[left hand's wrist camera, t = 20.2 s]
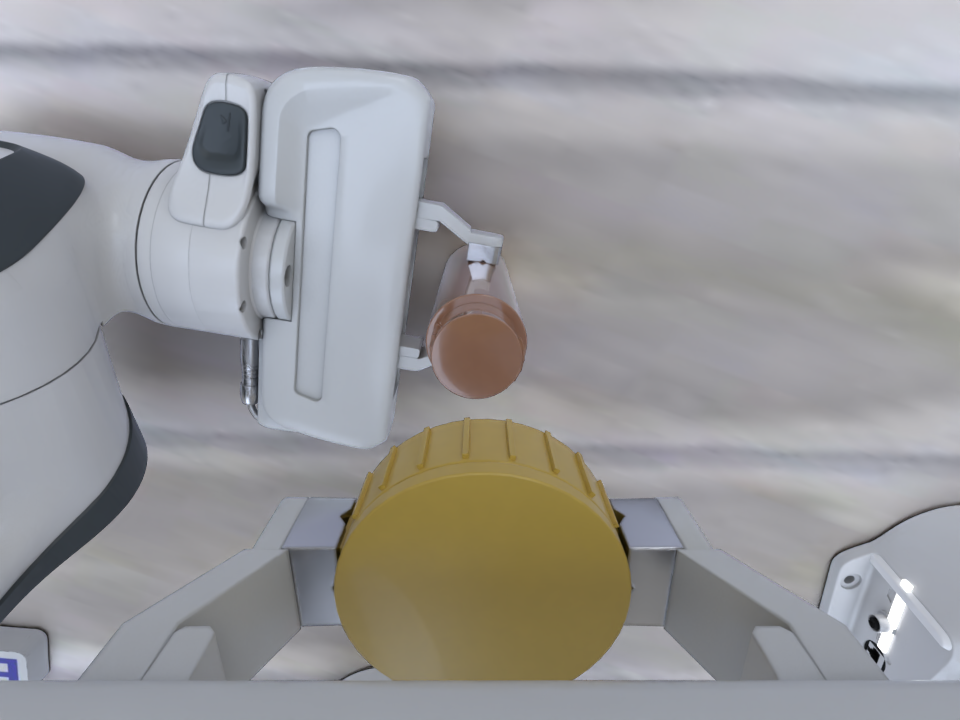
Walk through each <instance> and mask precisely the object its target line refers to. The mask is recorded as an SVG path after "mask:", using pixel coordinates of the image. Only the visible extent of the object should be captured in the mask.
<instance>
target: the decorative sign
mask: <svg viewBox="0 0 960 720" xmlns="http://www.w3.org/2000/svg"><path fill="white" fill-rule="evenodd" d="M48 672H49V660H48V641H47V636H46V634H45V633H44V632H43V631H41V630H38V629H28V628H16V627H4V626H0V680H43V678H44V677H45V676H46V675H47V674H48Z"/></svg>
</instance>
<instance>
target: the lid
mask: <svg viewBox="0 0 960 720" xmlns="http://www.w3.org/2000/svg"><path fill="white" fill-rule="evenodd" d="M617 527H619V524H618V522H617V519H616V517H615V514H614V511H613V509H612V506H611V504H610V501H609V499H608V496H607V494H606V491H605V488H604V486H603V483H602V481H601V480H598V481H597V480H596V479H595V477H594V475H593V474H592V472H591V471H590V469H589V468H588V467H587V465H586V464H585V463H584V460H583V457H582V455H581V454H580V453H579V452H577V453H576V454H575V453H574V452H573V451H572V450H571V449H570V448H568V447H567V446H566V445H564V444H563V443H561V442H560V441H558V440H557V439H555V438H554V437H552V436H551V433H550V432H548V431H545V433H543V432H541V431H539V430H537V429H534V428H531V427H528V426H525V425H523V424H518V423H514V422H512V420H511V419H506V421H503V420H492V419H470V418H464V420H463V421H456V422H451V423H447V424H443V425H439V426H436V427H433V428H431V429H430V427H426V428H424V431H423V432H421V433H419V434H417V435H415V436H413V437H412V438H410V439H408V440H406V441H405V442H403V443H402V444H401V445H399V446H398V447H396V446H395V445H394V446H393V447H392V448H391V449H390V452H389V454H388V455H387V456H386V457H385V458H384V459H383V460H382V461H381V462H380V464H379V465H378V466H377V468H376V469H375V470H374V472H373V473H371V472H368V474H367V476H366V478H365V481H364V484H363V486H362V489H361V492H360V494H359V497H358V500H357V502H356V505H355V508H354V511H353V513H352V515H351V516H350V517H349V520H348V523H347V525H346V533H345V535H344V538H343V540H342V543H341V546H340V552H341V554H340V556H339V559H338V562H337V566H336V571H335V577H334V597H335V603H336V609H337V613H338V616H339V619H340V622H341V625H342V627H343V629H344V631H345V633H346V635H347V636H348V638H349V640H350V641H351V643H352V644H353V645H354V647H355V648H356V650H357V651H358V652H359V653H360V654H361V655H362V656H363V657H364V658H365V659H366V661H367V662H368V663H370V664H371V665H372V666H373V667H374V668H376V669H377V670H378V671H379V672H381V673H382V674H384V675H385V676H387V677H388V678H390V679H391V680H393V681H416V680H574V679H575V678H577V677H578V676H580V675H581V674H583V673H584V672H585V671H587V670H588V669H590V668H591V667H592V666H593V665H594V664H595V663H596V662H597V661H598V660H599V659H601V658H602V656H603V655H604V654H605V653H606V652H607V651H608V649H609V648H610V647H611V646H612V644H613V643H614V641H615V640H616V638H617V636H618V635H619V633H620V631H621V629H622V627H623V624H624V622H625V620H626V617H627V613H628V609H629V606H630V599H631V589H632V588H631V573H630V569H629V565H628V561H627V557H626V554H625V552H624V549H623V547H622V544H621V541H620V539H619V536H618V532H619V531H618V528H617Z"/></svg>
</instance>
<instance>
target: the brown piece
mask: <svg viewBox="0 0 960 720" xmlns="http://www.w3.org/2000/svg"><path fill="white" fill-rule="evenodd" d="M468 245H469V244H468ZM468 245H465V246H462V247H460V248H459V249H457V250H456V251H455V252H454V253H452V255H451V256H450V257H449V259H448V260H447V263H446V265H445V269H444V272H443V276H442V279H441V283H440V286H439V290H438V293H437V297H436V300H435V304H434V307H433V311H432V314H431V318H430V321H429V325H428V328H427V332H426V351H427V355H428V358H429V360H430V362H431V365H432V368H433V371H434V373H435V375H436V377H437V379H438V380H439V381H440V383H441V384H442V385H443V386H444V387H445V388H447V389H448V390H449V391H451V392H452V393H454V394H456V395H459V396H461V397H465V398H470V399H483V398H488V397H491V396H494V395H496V394H498V393H500V392H502V391H503V390H505V389H507V388H508V387H509V386H510V385H511V384H512V383H513V381H515V380H516V378H517V377H518V375H519V373H520V372H521V370H522V366H523V363H524V356H525V353H526V349H527V335H526V330H525V326H524V323H523V320H522V316H521V313H520V310H519V306H518V303H517V300H516V296H515V293H514V289H513V286H512V283H511V279H510V276H509V273H508V269H507V266H506V263H505V261H504V259H503V258H502V256H501V255H500V259H499V264H498V265H490V264H487V263H485V262H484V261H480V262H474V261H468V260H467V252H468Z"/></svg>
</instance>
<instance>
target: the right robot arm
mask: <svg viewBox="0 0 960 720" xmlns="http://www.w3.org/2000/svg"><path fill="white" fill-rule="evenodd" d="M434 112H435V103H434V100H433V98H432V96H431V95H430V93H429V91H428V90H427V89H426V87H425V86H424V85H423V84H422V83H421V82H420V81H419V80H418V79H416V78H414V77H412V76H408V75H404V74H399V73H394V72H387V71H379V70H371V69H361V68H347V67H304V68H298V69H294V70H291V71H288V72H286V73H284V74H282V75H281V76H279V77H278V78H277V79H276V80H275V81H274V82H273V83H271V82H269V81H266V80H264V79H261V78H257V77H254V76H250V75H245V74H238V73H216V74H214V75H212V76H211V77H210V78H209V80H208V81H207V83H206V85H205V88H204V91H203V94H202V97H201V101H200V104H199V108H198V111H197V114H196V118H195V121H194V125H193V128H192V131H191V134H190V138H189V141H188V144H187V147H186V150H185V153H184V156H183V159H164V160H157V161H145V160H139V159H136V158H133V157H130V156H128V155H126V154H124V153H122V152H120V151H118V150H116V149H113V148H111V147H108V146H105V145H100V144H95V143H90V142H85V141H79V140H74V139H67V138H61V137H54V136H47V135H39V134H31V133H21V132H11V131H0V623H1V622H2V620H3V619H4V618H5V617H6V616H7V615H8V614H9V613H10V612H11V611H12V610H13V608H14V607H15V606H16V605H17V604H18V603H19V602H20V601H21V600H22V599H23V598H24V597H25V596H26V595H27V594H28V593H29V592H30V591H31V590H32V589H33V588H34V587H35V586H36V585H38V584H39V583H40V582H41V581H42V580H43V579H44V578H45V577H46V576H48V575H49V574H50V573H51V572H52V571H53V570H55V569H56V568H57V567H58V566H59V565H61V564H62V563H63V562H64V561H65V560H67V559H68V558H69V557H70V556H72V555H73V554H74V553H75V552H76V551H78V550H79V549H80V548H81V547H83V546H84V545H85V544H86V543H87V542H89V541H90V540H91V539H92V538H94V537H95V536H96V535H97V534H98V533H99V532H101V531H102V530H103V529H104V528H105V527H106V526H107V525H108V524H109V523H110V522H111V521H112V520H113V519H114V518H115V517H116V516H117V515H118V514H119V513H120V512H121V511H122V510H123V509H124V508H125V506H126V505H127V504H128V503H129V501H130V500H131V499H132V497H133V496H134V494H135V493H136V491H137V489H138V487H139V486H140V484H141V481H142V479H143V476H144V473H145V470H146V466H147V447H146V443H145V440H144V438H143V435H142V433H141V431H140V429H139V427H138V425H137V423H136V420H135V418H134V416H133V414H132V412H131V410H130V407H129V405H128V403H127V401H126V399H125V398H124V396H123V395H122V393H121V390H120V386H119V383H118V380H117V377H116V374H115V371H114V368H113V364H112V361H111V358H110V355H109V352H108V349H107V346H106V343H105V339H104V336H103V333H102V330H101V327H100V324H101V325H102V326H104V325H105V324H106V323H107V322H108V321H109V320H111V319H112V318H113V317H114V316H115V315H117V314H118V313H121V312H124V311H127V312H133V313H136V314H139V315H141V316H143V317H146V318H148V319H150V320H152V321H154V322H157V323H160V324H164V325H168V326H174V327H180V328H186V329H192V330H198V331H204V332H210V333H217V334H223V335H229V336H235V337H240V359H241V367H242V382H241V384H240V396H241V400H242V403H243V404H245V405H247V406H248V409H249V411H250V413H251V414H252V416H253V417H254V418H255V419H256V420H257V421H258V423H259V424H260V425H262V426H264V427H267V428H270V429H277V430H283V431H290V432H298V433H301V434H304V435H307V436H310V437H314V438H317V439H321V440H324V441H328V442H332V443H336V444H340V445H344V446H349V447H354V448H360V449H370V448H373V447H375V446H377V445H379V444H381V443H383V442H385V441H386V440H387V438H388V436H389V433H390V430H391V427H392V423H393V420H394V414H395V407H396V400H397V392H398V385H399V377H400V369H405V370H411V371H420V370H423V369H425V368H428V367H431V366H432V365H431V362H430V360H429V358H428V355H427V351H426V346H423V347H422V345H423V338H422V337H418V336H413V335H407V334H405V332H406V324H407V316H408V309H409V301H410V294H411V286H412V279H413V271H414V263H415V256H416V248H417V241H418V233H419V230H424V231H430V232H436V231H437V230H438V228H439V227H440V222H441V223H442V224H443V225H444V226H446V227H447V228H448V229H449V230H450V231H452V232H453V233H454V234H455V235H457V236H458V237H459V238H460V239H461V240H463V241H464V242H465V243H466V244H467V245H468V244H469V245H468V252H467V260H468V261H474V262H480V261H484V262H485V263H487V264H490V265H498V264H499V259H500V255H501V250H502V245H503V240H504V237H503V235H500V234H497V233H492V232H487V231H481V230H476V229H471V226H470V225H469V224H468V223H467V222H466V221H464V220H463V219H462V218H461V217H460V216H459V215H458V214H456V213H455V212H454V211H453V210H452V209H451V208H449V207H448V206H447V205H446V204H445V203H443V202H438V201H432V200H427V199H423V195H424V188H425V180H426V173H427V165H428V157H429V150H430V142H431V135H432V127H433V119H434ZM257 403H258V410H257V409H256V407H255V404H257ZM342 681H393V680H391V679H390V678H388V677H387V676H385V675H384V674H382V673H381V672H379V671H378V670H377V669H376V668H372V669H367V670H364V671H360V672H358V673H355V674H353V675H350V676H349V677H347V678H345V679H343V680H342Z"/></svg>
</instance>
